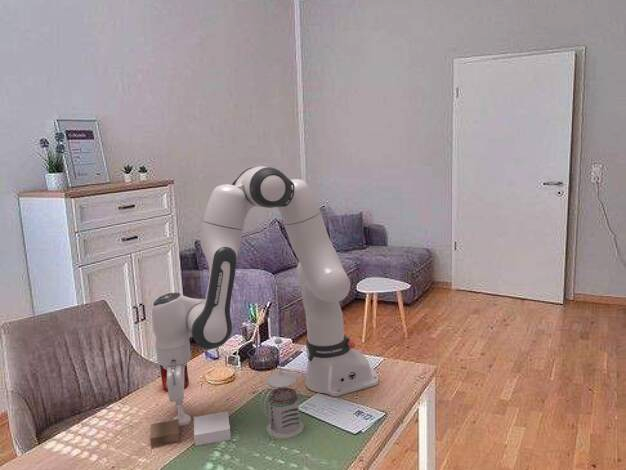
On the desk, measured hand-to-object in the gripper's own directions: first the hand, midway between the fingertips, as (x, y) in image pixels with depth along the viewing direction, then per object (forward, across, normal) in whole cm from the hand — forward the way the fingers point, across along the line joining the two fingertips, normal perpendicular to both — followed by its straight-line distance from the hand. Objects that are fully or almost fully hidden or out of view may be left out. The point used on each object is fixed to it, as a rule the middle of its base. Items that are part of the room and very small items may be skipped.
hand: (179, 400), depth 144 cm
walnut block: (+6, -7, +4) cm, 10 cm away
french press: (+6, -13, -26) cm, 30 cm away
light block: (+6, -9, -8) cm, 13 cm away
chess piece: (+6, 0, 0) cm, 6 cm away
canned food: (+6, +22, +2) cm, 23 cm away
